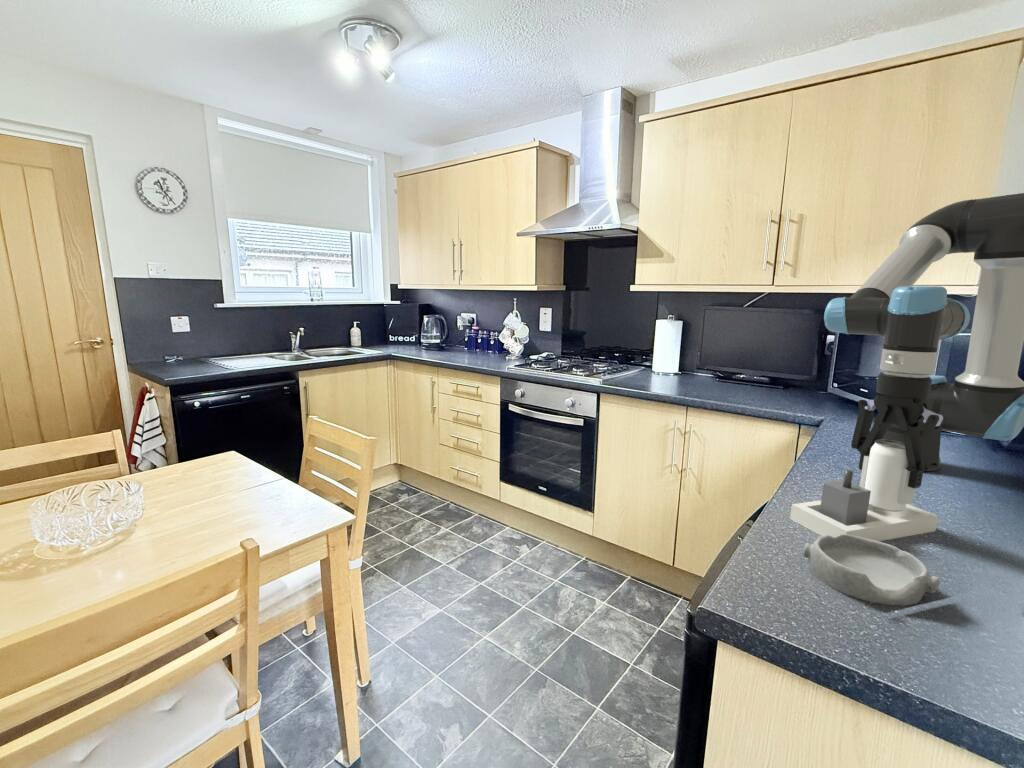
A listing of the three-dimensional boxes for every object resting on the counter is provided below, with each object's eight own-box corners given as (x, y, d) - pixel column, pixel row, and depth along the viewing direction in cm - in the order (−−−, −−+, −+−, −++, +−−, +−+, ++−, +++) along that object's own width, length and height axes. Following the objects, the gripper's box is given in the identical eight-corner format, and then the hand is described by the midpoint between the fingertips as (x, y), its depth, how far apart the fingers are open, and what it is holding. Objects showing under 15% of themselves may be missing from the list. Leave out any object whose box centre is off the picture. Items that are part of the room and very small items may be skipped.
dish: (948, 607, 67) (954, 574, 66) (866, 619, 64) (872, 586, 63) (854, 552, 80) (859, 525, 80) (784, 561, 78) (788, 533, 77)
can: (893, 499, 92) (903, 440, 90) (913, 514, 86) (925, 450, 84) (855, 496, 93) (864, 437, 91) (873, 510, 87) (883, 447, 85)
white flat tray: (874, 508, 97) (877, 492, 97) (935, 533, 87) (938, 515, 86) (789, 521, 91) (791, 504, 91) (843, 550, 81) (846, 531, 80)
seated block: (838, 520, 91) (846, 465, 89) (864, 532, 86) (873, 474, 84) (818, 523, 89) (825, 467, 87) (843, 536, 84) (852, 477, 82)
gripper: (838, 366, 93) (823, 478, 97) (953, 384, 75) (928, 520, 79) (867, 365, 95) (850, 474, 100) (985, 382, 77) (959, 515, 81)
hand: (884, 494), depth 89 cm, fingers closed on can, 6 cm apart
